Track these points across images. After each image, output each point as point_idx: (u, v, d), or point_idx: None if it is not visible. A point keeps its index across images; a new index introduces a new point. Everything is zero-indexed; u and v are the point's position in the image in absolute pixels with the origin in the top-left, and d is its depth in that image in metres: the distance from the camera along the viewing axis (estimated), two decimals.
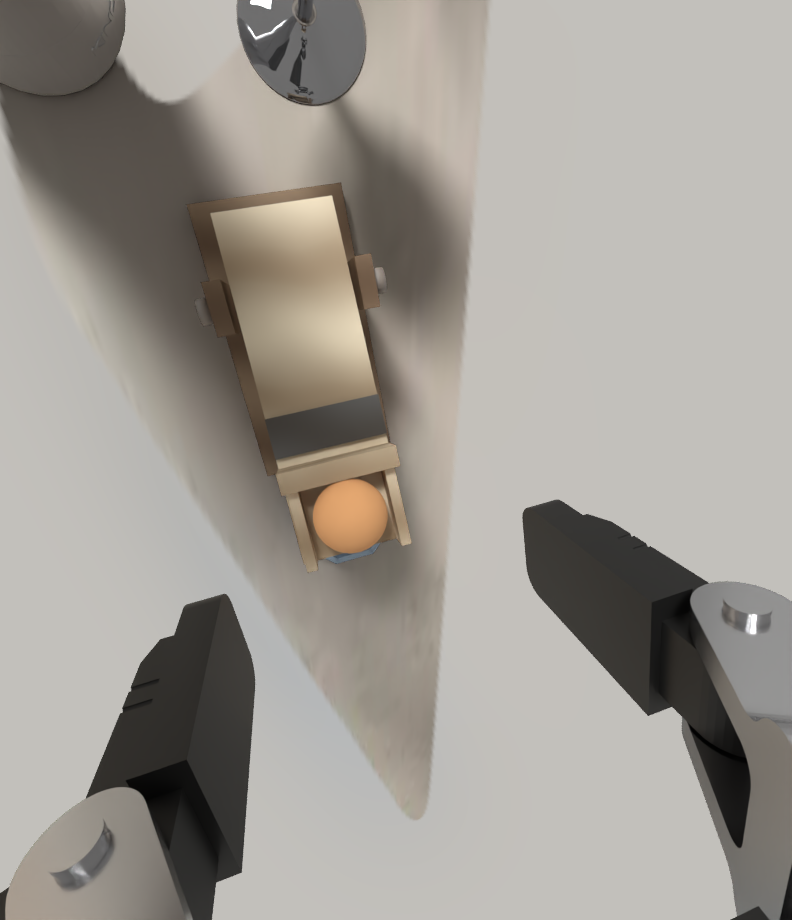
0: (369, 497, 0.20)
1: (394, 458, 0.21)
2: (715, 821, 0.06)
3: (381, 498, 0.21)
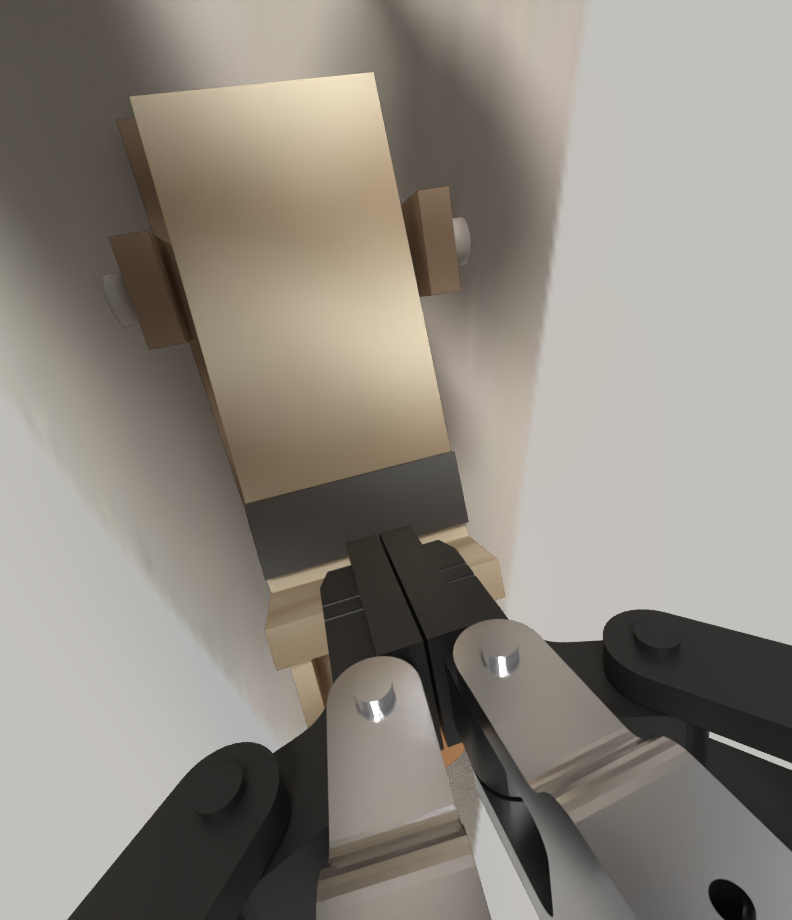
0: None
1: (495, 584, 0.11)
2: (524, 884, 0.05)
3: None
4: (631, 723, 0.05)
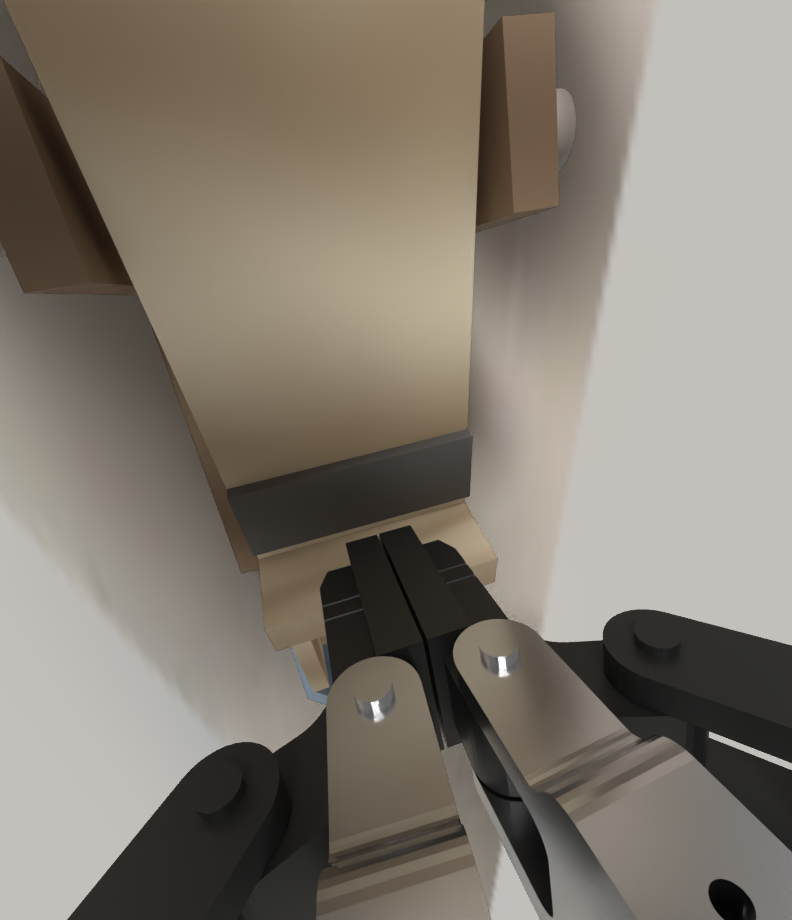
0: None
1: (488, 575, 0.11)
2: (524, 884, 0.05)
3: None
4: (631, 723, 0.05)
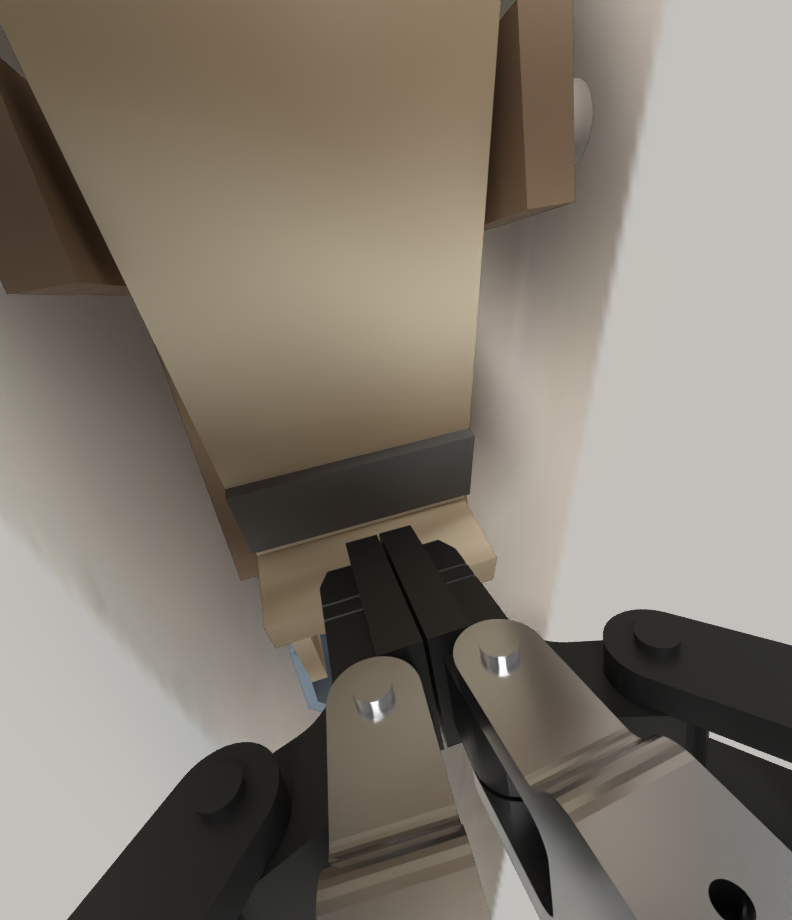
0: None
1: (487, 573, 0.11)
2: (523, 883, 0.05)
3: None
4: (632, 723, 0.05)
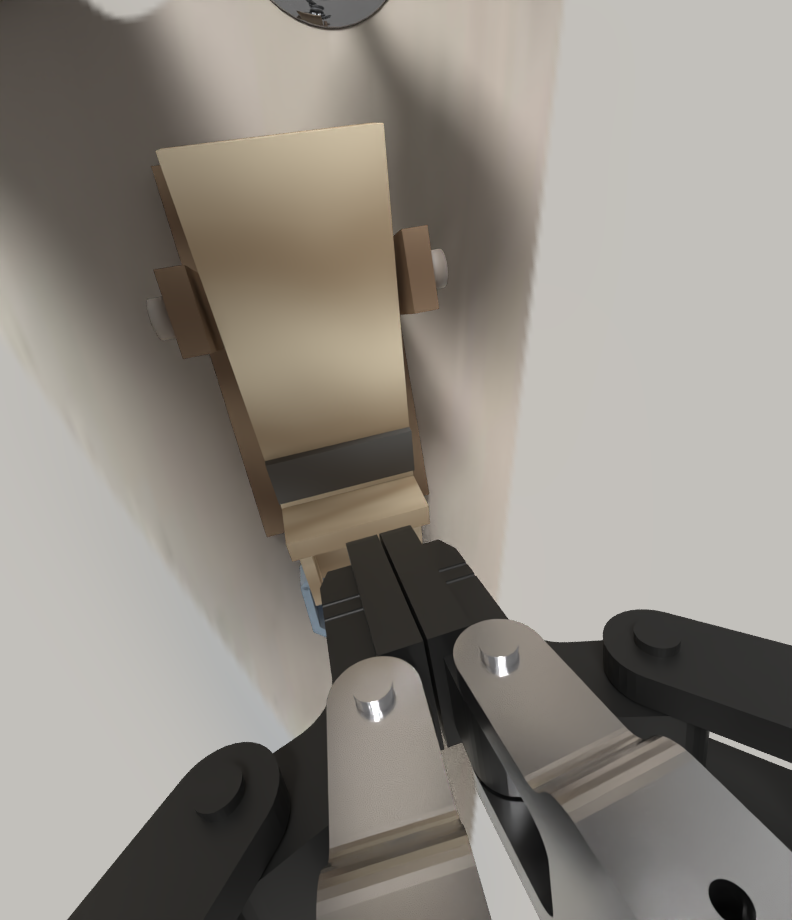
0: None
1: (424, 518, 0.18)
2: (523, 884, 0.05)
3: None
4: (631, 723, 0.05)
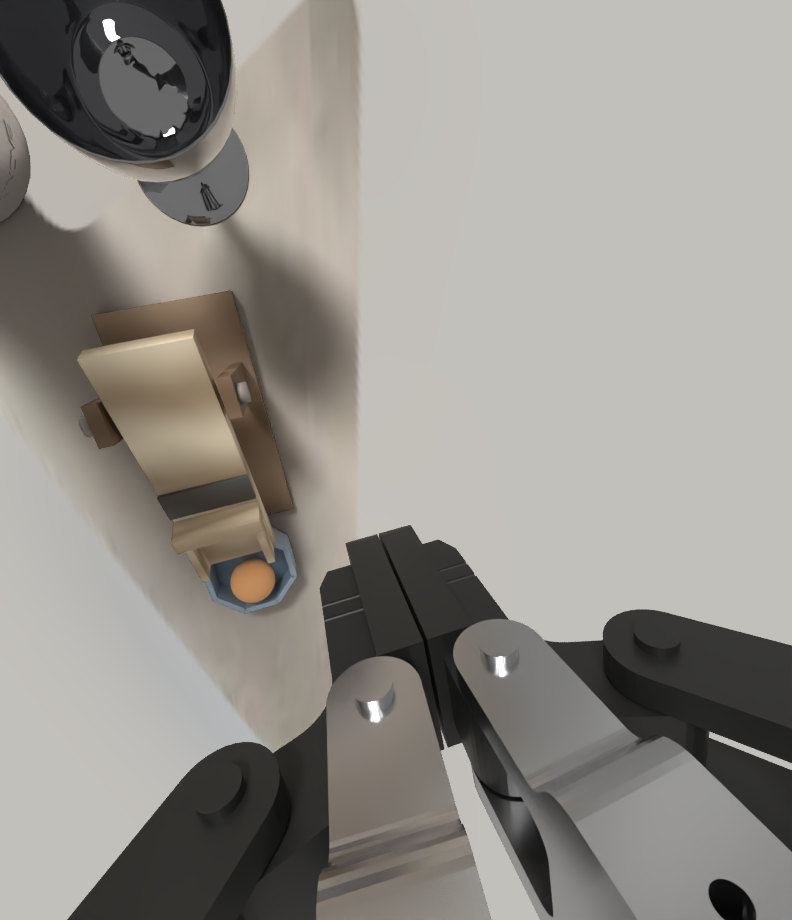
0: None
1: (258, 528, 0.30)
2: (524, 884, 0.05)
3: None
4: (631, 723, 0.05)
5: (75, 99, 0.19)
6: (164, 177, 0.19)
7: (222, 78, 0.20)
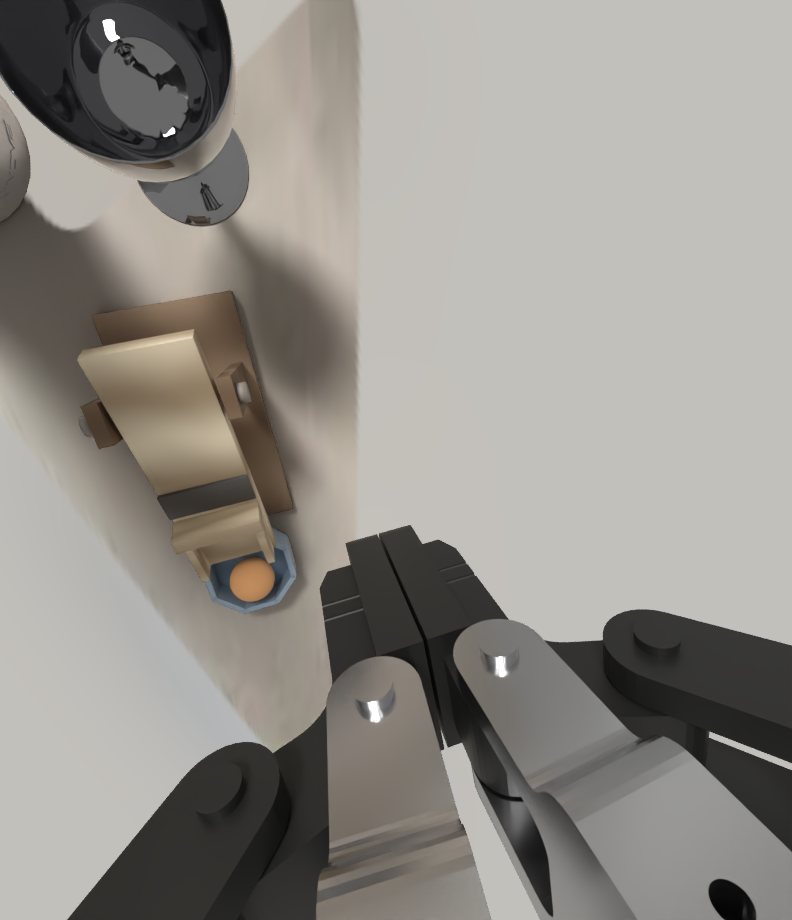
0: None
1: (258, 528, 0.30)
2: (524, 884, 0.05)
3: None
4: (631, 723, 0.05)
5: (75, 99, 0.19)
6: (164, 177, 0.19)
7: (222, 78, 0.20)
